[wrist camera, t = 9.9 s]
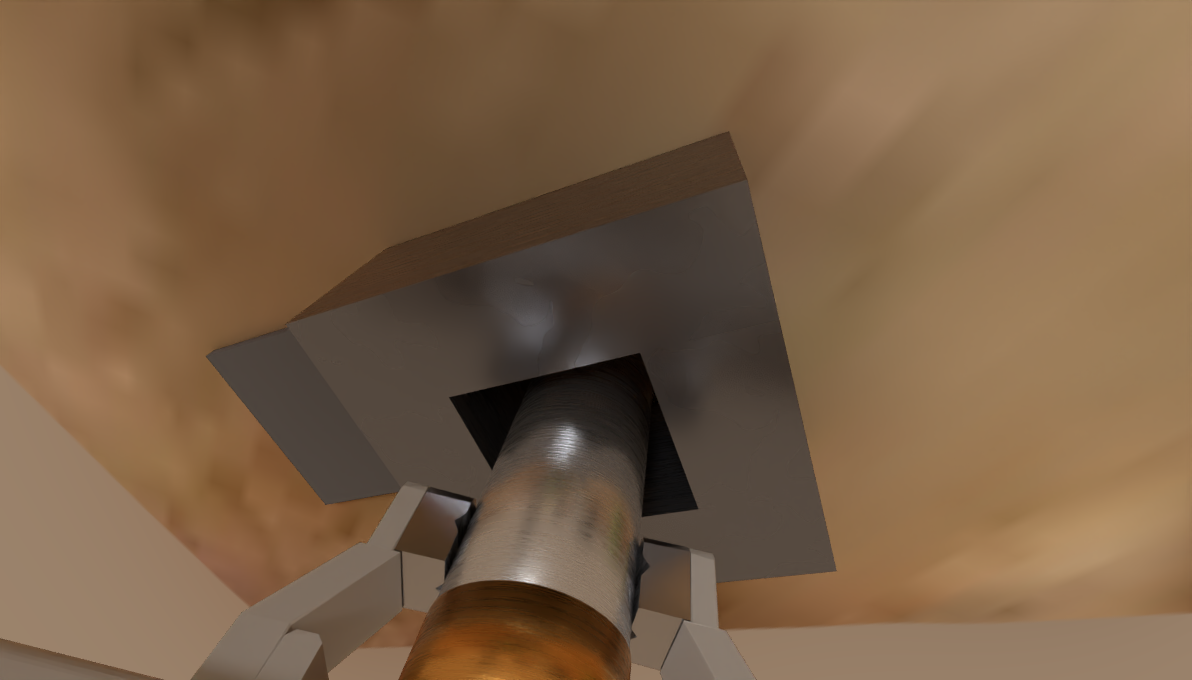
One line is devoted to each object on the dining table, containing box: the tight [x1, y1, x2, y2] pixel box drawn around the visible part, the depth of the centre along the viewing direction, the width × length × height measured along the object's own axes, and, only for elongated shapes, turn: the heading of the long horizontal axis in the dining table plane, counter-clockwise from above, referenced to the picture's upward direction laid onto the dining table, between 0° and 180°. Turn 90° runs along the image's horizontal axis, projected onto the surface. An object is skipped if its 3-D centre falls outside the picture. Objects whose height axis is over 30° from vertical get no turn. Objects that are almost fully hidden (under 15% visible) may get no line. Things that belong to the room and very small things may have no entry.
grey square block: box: [286, 131, 837, 583], centre depth 16 cm, size 11×11×5 cm
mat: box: [206, 328, 401, 505], centre depth 21 cm, size 8×8×1 cm
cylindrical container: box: [399, 353, 653, 680], centre depth 12 cm, size 4×4×11 cm
